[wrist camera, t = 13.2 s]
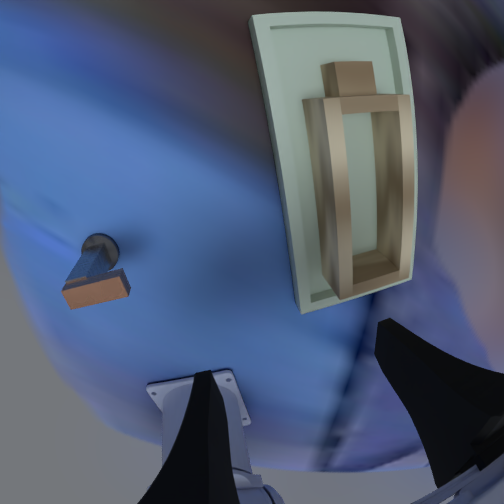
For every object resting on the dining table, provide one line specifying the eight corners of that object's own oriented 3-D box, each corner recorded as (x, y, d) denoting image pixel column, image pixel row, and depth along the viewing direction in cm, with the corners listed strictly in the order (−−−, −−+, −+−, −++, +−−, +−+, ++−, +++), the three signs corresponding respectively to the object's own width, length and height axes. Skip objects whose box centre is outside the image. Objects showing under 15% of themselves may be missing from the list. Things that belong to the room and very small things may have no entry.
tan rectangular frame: (386, 256, 22) (408, 277, 19) (322, 274, 22) (339, 300, 19) (375, 64, 15) (405, 60, 13) (296, 67, 15) (316, 60, 12)
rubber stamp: (146, 258, 19) (133, 307, 15) (92, 272, 19) (68, 321, 14) (133, 222, 18) (114, 263, 13) (77, 239, 18) (46, 282, 13)
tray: (401, 270, 24) (411, 279, 22) (295, 302, 23) (301, 314, 22) (387, 21, 15) (399, 17, 13) (247, 22, 14) (252, 15, 13)
